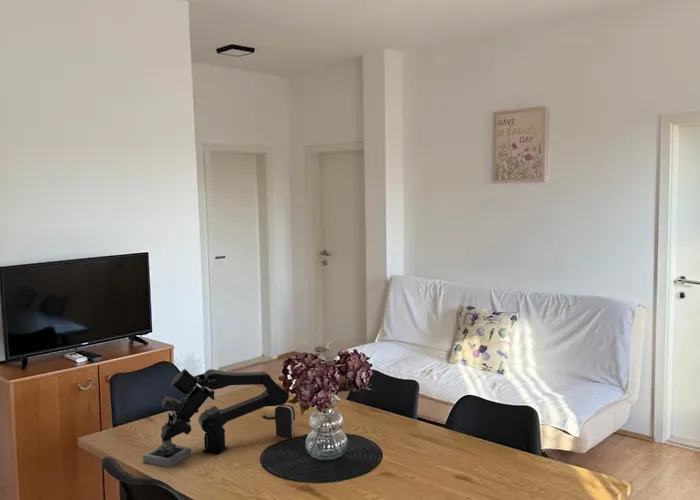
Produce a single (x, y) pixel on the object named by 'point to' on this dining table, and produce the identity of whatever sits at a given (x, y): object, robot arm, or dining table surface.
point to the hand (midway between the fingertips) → (162, 438)
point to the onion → (269, 411)
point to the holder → (155, 458)
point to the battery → (284, 420)
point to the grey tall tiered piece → (166, 444)
